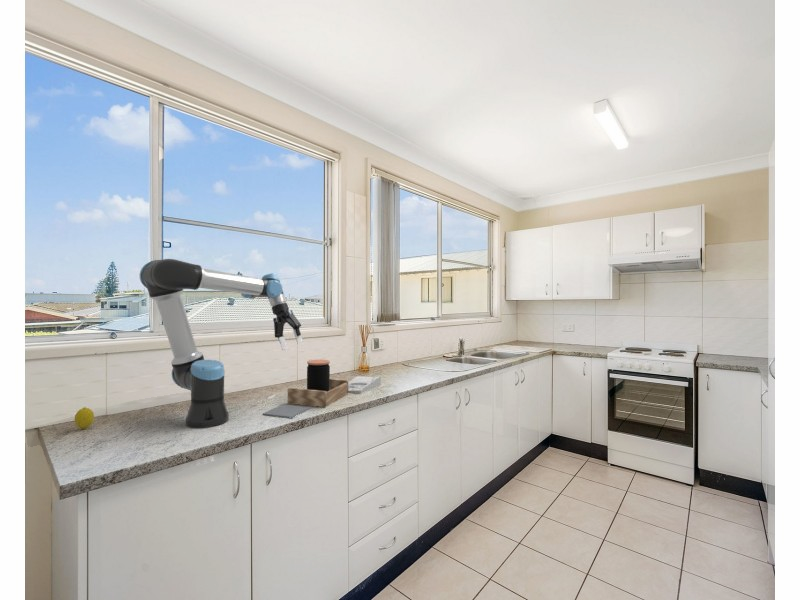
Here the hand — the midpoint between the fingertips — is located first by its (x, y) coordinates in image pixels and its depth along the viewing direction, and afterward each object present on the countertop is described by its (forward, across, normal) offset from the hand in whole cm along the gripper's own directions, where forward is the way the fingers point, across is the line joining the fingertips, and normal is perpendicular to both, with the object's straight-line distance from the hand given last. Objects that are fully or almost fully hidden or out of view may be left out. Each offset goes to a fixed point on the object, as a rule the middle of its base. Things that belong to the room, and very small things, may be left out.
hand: (292, 346), depth 184 cm
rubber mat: (+27, -7, +17) cm, 33 cm away
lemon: (+6, +26, +77) cm, 82 cm away
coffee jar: (+28, 0, -4) cm, 28 cm away
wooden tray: (+28, 0, -5) cm, 28 cm away
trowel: (+33, 0, -31) cm, 45 cm away
